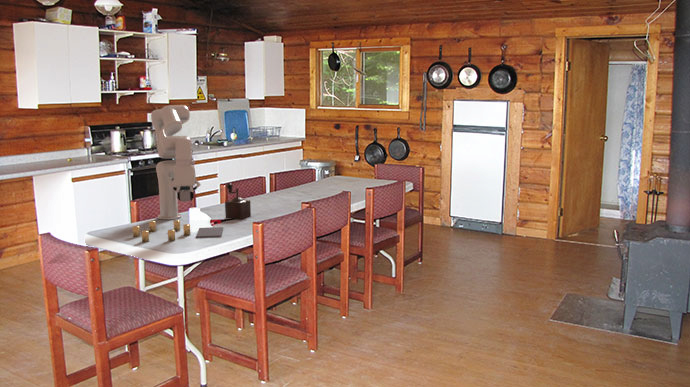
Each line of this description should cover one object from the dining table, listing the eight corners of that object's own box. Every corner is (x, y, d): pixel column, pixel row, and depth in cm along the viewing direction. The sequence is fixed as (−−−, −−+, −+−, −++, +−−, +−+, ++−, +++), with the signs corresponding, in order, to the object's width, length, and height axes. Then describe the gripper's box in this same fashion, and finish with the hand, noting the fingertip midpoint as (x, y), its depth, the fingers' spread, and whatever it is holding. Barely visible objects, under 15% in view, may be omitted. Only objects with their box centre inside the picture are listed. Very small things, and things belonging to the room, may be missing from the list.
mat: (199, 229, 316) (199, 227, 316) (223, 228, 317) (223, 227, 317) (196, 237, 298) (196, 236, 298) (221, 237, 300) (221, 235, 300)
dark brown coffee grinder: (252, 216, 347) (251, 184, 344) (240, 220, 337) (239, 187, 334) (230, 213, 354) (229, 182, 351) (217, 217, 344) (216, 185, 341)
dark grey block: (181, 199, 305) (180, 189, 304) (191, 199, 305) (191, 189, 305) (179, 201, 299) (179, 191, 298) (190, 201, 300) (189, 191, 299)
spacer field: (137, 230, 313) (137, 221, 312) (192, 229, 316) (192, 219, 315) (128, 242, 289) (127, 232, 288) (187, 240, 293) (187, 230, 292)
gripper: (202, 161, 304) (204, 198, 307) (167, 162, 302) (169, 199, 305) (201, 163, 296) (202, 201, 300) (164, 164, 294) (166, 201, 298)
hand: (185, 199), depth 302 cm, fingers closed on dark grey block, 5 cm apart
